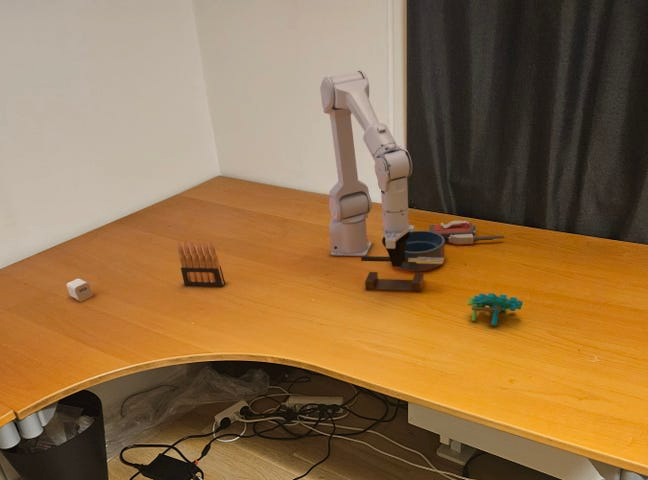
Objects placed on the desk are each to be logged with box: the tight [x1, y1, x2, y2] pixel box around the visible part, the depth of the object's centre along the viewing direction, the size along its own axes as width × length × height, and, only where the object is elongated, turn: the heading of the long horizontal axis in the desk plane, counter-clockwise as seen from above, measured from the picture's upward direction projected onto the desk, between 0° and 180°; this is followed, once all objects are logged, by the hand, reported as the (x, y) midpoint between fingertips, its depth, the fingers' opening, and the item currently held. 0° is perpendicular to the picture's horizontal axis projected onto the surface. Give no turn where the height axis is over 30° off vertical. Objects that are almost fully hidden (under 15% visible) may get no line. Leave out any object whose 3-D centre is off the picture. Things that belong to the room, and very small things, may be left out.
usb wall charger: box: [66, 278, 94, 302], centre depth 158 cm, size 4×7×4 cm, turn 47°
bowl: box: [396, 230, 446, 272], centre depth 154 cm, size 13×13×6 cm
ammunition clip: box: [176, 240, 226, 288], centre depth 153 cm, size 11×2×12 cm, turn 75°
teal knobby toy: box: [467, 292, 524, 327], centre depth 127 cm, size 11×6×10 cm
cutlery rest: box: [364, 271, 425, 293], centre depth 145 cm, size 13×5×2 cm, turn 75°
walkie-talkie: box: [429, 219, 505, 245], centre depth 162 cm, size 9×4×20 cm
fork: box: [360, 255, 445, 265], centre depth 141 cm, size 19×2×1 cm, turn 75°
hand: (397, 264), depth 142 cm, fingers closed on fork, 1 cm apart
